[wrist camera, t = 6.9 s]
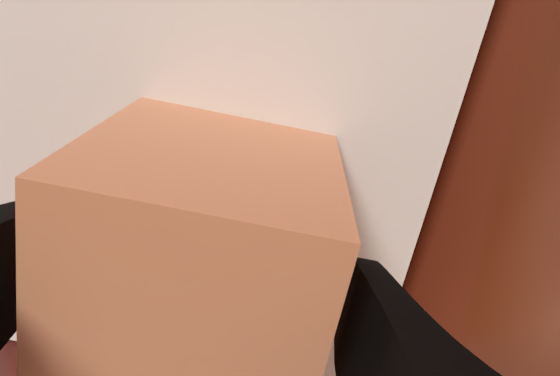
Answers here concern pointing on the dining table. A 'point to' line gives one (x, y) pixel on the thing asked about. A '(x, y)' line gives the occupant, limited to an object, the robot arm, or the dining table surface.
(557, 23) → the dining table surface
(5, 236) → the robot arm
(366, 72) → the base plate
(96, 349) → the peach cube
